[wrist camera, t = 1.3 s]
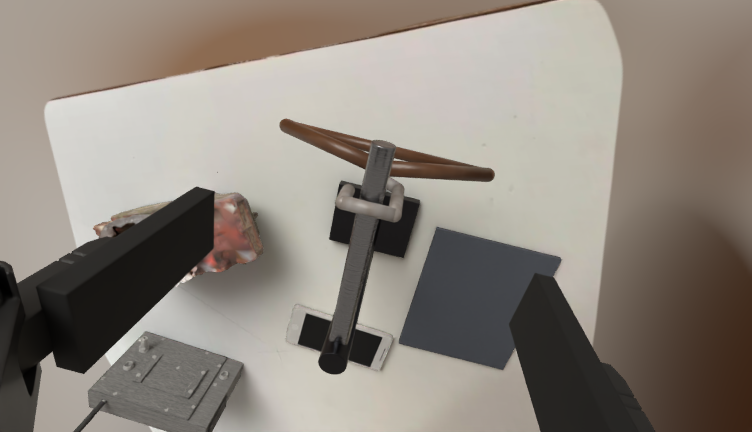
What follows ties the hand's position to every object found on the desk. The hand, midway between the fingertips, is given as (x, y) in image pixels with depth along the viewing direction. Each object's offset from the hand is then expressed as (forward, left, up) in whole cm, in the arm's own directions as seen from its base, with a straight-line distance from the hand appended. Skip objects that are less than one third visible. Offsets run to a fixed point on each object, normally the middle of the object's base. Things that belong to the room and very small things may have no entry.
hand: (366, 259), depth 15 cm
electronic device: (+25, +45, -29) cm, 59 cm away
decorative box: (+23, +17, -29) cm, 41 cm away
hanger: (+1, +1, -19) cm, 19 cm away
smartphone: (+2, +34, -29) cm, 44 cm away
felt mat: (-15, +22, -29) cm, 39 cm away
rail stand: (+1, +7, -29) cm, 30 cm away
